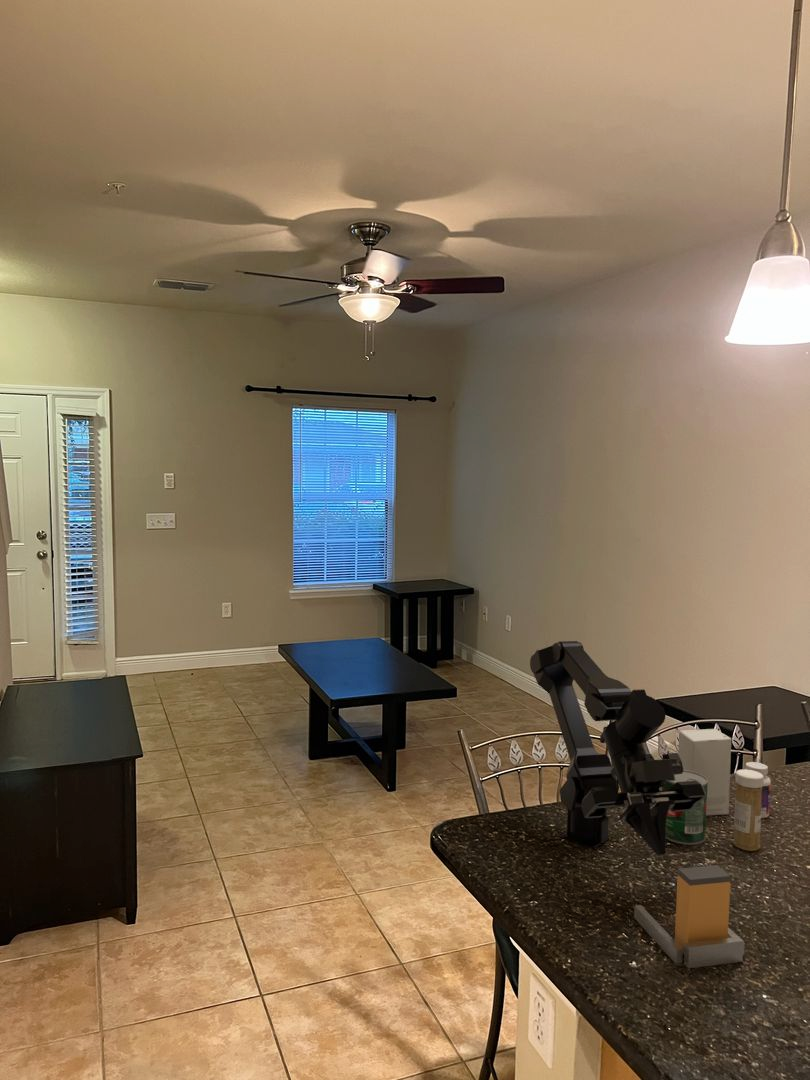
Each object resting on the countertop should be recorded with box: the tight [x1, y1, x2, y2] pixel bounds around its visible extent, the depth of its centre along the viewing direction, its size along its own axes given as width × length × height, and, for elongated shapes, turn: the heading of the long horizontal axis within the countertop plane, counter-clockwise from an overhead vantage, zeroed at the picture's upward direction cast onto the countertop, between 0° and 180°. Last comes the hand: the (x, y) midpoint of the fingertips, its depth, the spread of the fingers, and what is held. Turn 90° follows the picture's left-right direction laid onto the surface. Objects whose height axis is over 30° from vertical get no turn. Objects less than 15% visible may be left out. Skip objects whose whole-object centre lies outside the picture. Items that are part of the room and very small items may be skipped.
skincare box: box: [677, 728, 733, 817], centre depth 152 cm, size 8×7×16 cm
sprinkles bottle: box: [732, 768, 764, 852], centre depth 137 cm, size 5×5×14 cm
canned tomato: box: [661, 770, 708, 846], centre depth 141 cm, size 8×8×11 cm
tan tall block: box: [674, 864, 732, 955], centre depth 104 cm, size 3×6×11 cm, turn 102°
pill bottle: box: [744, 761, 772, 819], centre depth 151 cm, size 5×5×10 cm
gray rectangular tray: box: [633, 904, 746, 969], centre depth 108 cm, size 16×10×4 cm, turn 12°
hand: (661, 855), depth 114 cm, fingers closed
